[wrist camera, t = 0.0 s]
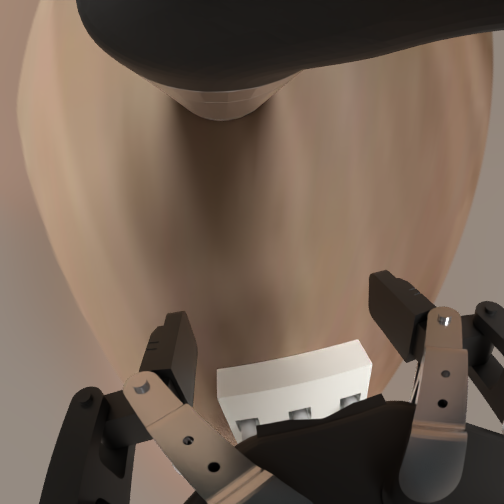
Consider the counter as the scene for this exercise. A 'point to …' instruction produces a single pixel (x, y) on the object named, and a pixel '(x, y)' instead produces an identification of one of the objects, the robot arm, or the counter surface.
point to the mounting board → (293, 385)
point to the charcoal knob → (248, 428)
